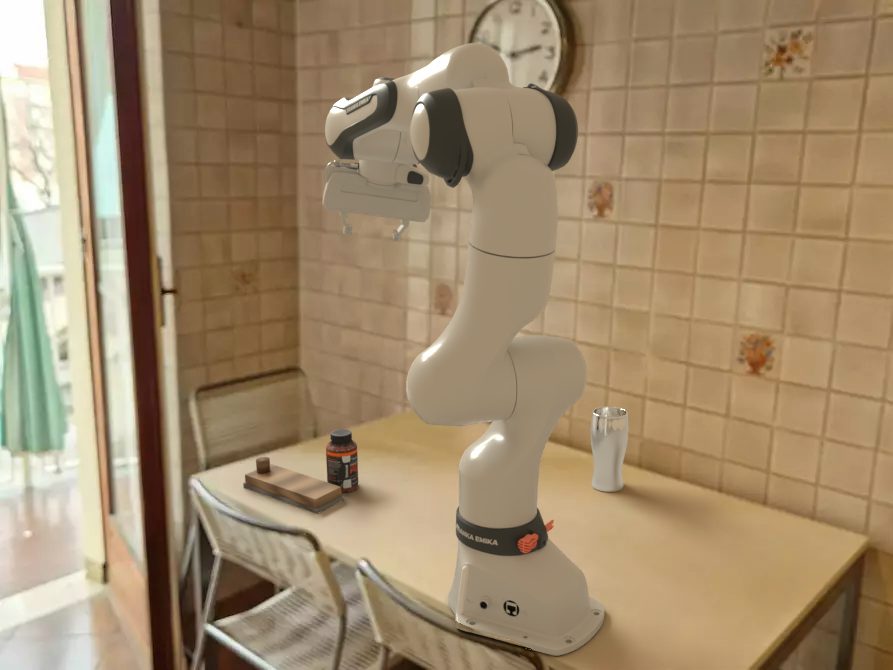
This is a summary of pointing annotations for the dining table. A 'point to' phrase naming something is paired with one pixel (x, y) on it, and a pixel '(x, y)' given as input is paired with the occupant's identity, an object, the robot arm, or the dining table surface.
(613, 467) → the beer glass
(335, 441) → the supplement bottle
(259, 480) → the body
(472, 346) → the robot arm
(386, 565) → the dining table surface
